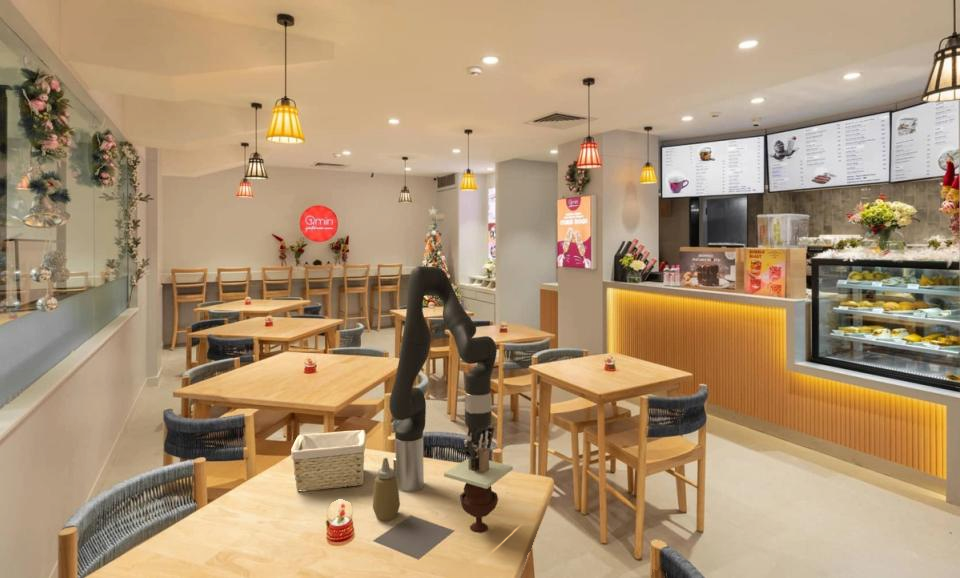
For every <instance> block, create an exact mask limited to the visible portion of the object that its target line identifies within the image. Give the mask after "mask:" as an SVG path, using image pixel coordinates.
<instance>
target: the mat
mask: <svg viewBox="0 0 960 578" xmlns="http://www.w3.org/2000/svg"><path fill="white" fill-rule="evenodd" d="M454 532H455V530H454V529H451V528H448V527H445V526H443V525H439V524H437V523H434V522H431V521H428V520H426V519H423V518H420V517H416V516H414V515H412V514H411V515H409V516H408V517H406V518H405V519H403V520H402V521H400V522H399V523H397V524H395V525H394V526H393V527H391V528H390V529H388V530H387V531H385V532H383V533H382V534H381V535H380V536H378V537H376V538H375V539H374V540H372V542H374V543H377V544H379V545H382V546H384V547H387V548H389V549H391V550H394V551H397V552H398V553H401V554H404V555H406V556H409V557H411V558H413V559H416V560H418V561H419V560H420V559H422V557H424V556H425V555H426V554H428V553H429V552H430V551H431V550H433V549H434V548H435V547H436V546H437V545H439V544H440V543H442V542H443V541H444V540H445V539H446V538H447V537H449V536H450V535H451V534H453V533H454Z"/></svg>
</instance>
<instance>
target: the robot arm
mask: <svg viewBox="0 0 960 578" xmlns="http://www.w3.org/2000/svg"><path fill="white" fill-rule="evenodd" d="M434 296H436V297H438V298H439V300H441V302H442V303H443V306H442V307H443V309H442V319H443V323H444V324H445V326H446V329H448V331H449V332H450V334H451V335H452V337H453V338H454V343H455V345H456V347H457V353H458V357H459V359H461V361H462V362H464V363H466V364H468V365H473V364H476V367H475V368H473V369H471V370H469V371H468V372H467V373H466V374H465V396H464V424H465V425H466V427H467V428H468V429H467V430H468V431H467V437H466V438H463V439H462V440H461V445H462V448H463V451H464V455H465V457H467V458H468V457H471V469H472V470H475V471H478V470H479V450H480V449H481V447H483V448H487V449H489V450H490V448H491V447H492V442H493V441H492V440H493V435H494V432H495V428H494V427H491V425H492V419H493V418H492V417H493V415H492V412H493V411H492V406H493V405H492V404H493V403H492V402H493V401H492V394H491V393H492V392H491V390H492V389H491V387H492V385H491V377H492V374H493V369H494V367H495V362H496V359H497V352H498V349H497V345H496V342H495V340H494V339H493V337H491V336H488V335H487V336H486V335H485V336H484V335H483V336H477V337H475V335H476V333H477V326H476V324H475V323H474V321H473V320H472V318H471V317H470V316H469V314H468V313H467V311H466V310H465V309H464V308H463V306H462V304H461V303H460V301H459V298H458V296H457V293H456V292H455V290H454V288H453V285H452V283H451V281H450V279H449V277H448V275H447V273H446V271H444V269H442V268H441V267H437V266H428V265H427V266H425V265H424V266H423V265H418V266H414V268H412V269H411V271H410V275H409V278H408V287H407V300H406V314H405V319H404V326H403V332H402V338H401V345H400V351H399V352H400V353H399V358H398V364H397V369H396V373H395V374H396V375H395V377H394V378H395V379H394V383H393V387H392V390H391V394H390V397H389V412H390V414H391V416H392V418H394V419H396V420H397V421H400V424H399V425H398V426H397V427H396V428H395V431H394V441H395V442H394V444H395V446H394V447H395V449H394V450H395V457H394V458H393V459H392V461H393V463H392V465H393V467H392V468H393V470H394V476H396V477H397V484H398V491H400V492H407V493H411V492H417V491H419V490H421V489H423V487H424V484H425V482H424V478H425V477H424V475H425V474H424V473H425V472H424V468H425V467H424V430H425V427H426V418H427V417H426V415H427V404H426V403H427V402H426V398H425V394H424V392H423V391H422V390H421V389H420V388H418V387H414V383H415V381H416V379H417V377H418V375H419V373H420V372H421V370H422V369H423V368H424V367H423V366H424V365H425V363H426V361H427V359H428V356H429V354H430V349H431V342H432V334H431V333H432V332H431V330H430V327H429V325H428V322H427V320H426V318H425V316H424V315H425V314H424V311H423V309H424V308H423V307H424V306H423V305H424V297H434ZM474 449H475V450H476V453H475V452H474Z"/></svg>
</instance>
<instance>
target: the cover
mask: <svg viewBox="0 0 960 578" xmlns="http://www.w3.org/2000/svg"><path fill="white" fill-rule="evenodd" d="M474 452H475V453H476V450H475V449H474ZM511 471H513V466H512V465H509V464H505V463H501V462H497V461H493V460H490V449H489V448H488V449H487V448H483V447H481V449H480V450H479V470H478V471H475V470H472V469H471V457H467V458H466V459H465V460H463V461H461V462H460V463H458V464H456V465H455V466H452V467H451V468H450V469H448V470H447V471H445V472H444V474H443V477H444V478H447V479H452V480H455V481H458V482H463V483H465V484H466V483H468V484H472V485H475V486H479V487H482V488H486V489H487V488H489V487H490V486H491V487H492V486H493V485H494V484H496V483H497V482H498V481H500V480H501V479H502V478H504V477H505V476H506V475H507V474H509V473H510V472H511Z"/></svg>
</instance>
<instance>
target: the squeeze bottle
mask: <svg viewBox="0 0 960 578" xmlns="http://www.w3.org/2000/svg"><path fill="white" fill-rule="evenodd" d="M399 493H400V492H399V490H398V484H397V477H396V476H394V468H393V467H390V463H389V460H388V457H384V458H383V459H382V465H381V468H378V470H377V476H376V477H375V478H374V486H373V495H372V497H373V498H372V510H373V512H374V514H375V515H374V516H375V517H376V519H377V520H379V521H381V522H389V521H392V520H394V519H395V518H396V517H397V516H398V513H399V509H400V507H401V503H400V502H401V501H400V494H399Z"/></svg>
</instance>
